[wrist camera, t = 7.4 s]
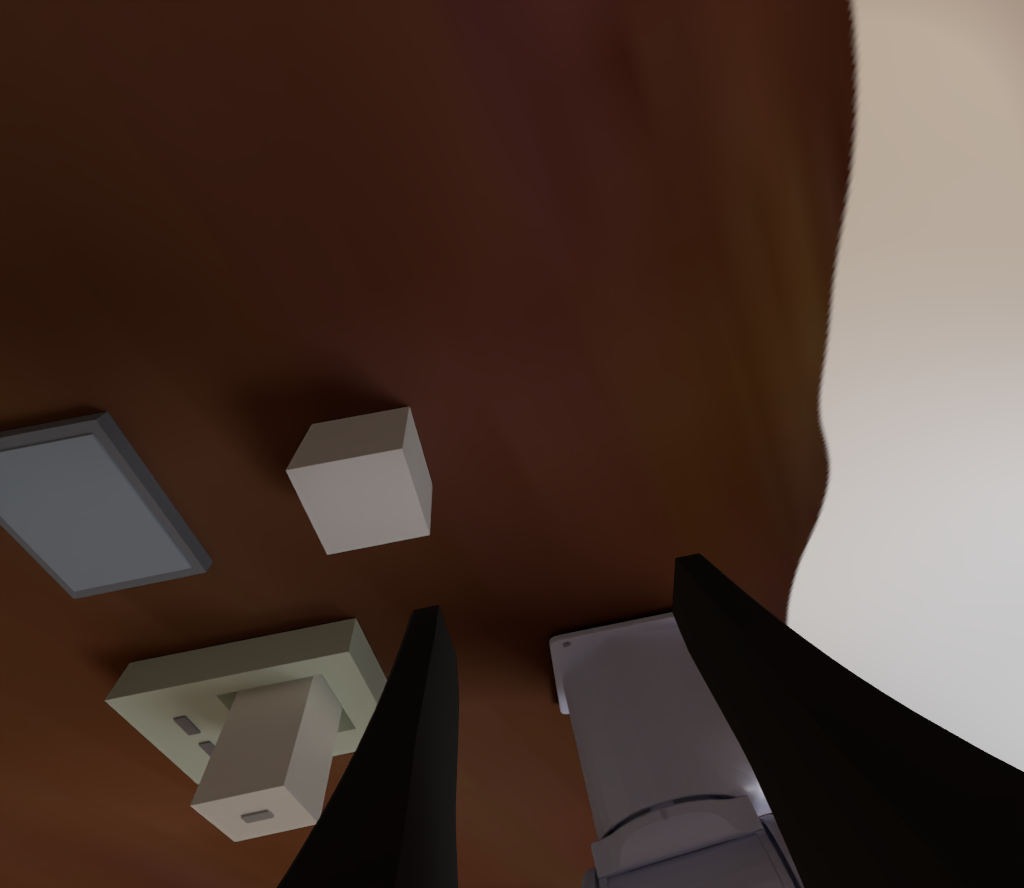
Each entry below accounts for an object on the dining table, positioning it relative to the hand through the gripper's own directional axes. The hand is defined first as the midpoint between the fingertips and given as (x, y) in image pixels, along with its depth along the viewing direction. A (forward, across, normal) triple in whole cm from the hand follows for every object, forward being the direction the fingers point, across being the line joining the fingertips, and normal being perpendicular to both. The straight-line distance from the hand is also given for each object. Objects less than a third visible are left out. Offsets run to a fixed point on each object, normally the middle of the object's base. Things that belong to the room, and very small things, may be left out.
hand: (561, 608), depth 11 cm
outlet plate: (+9, +16, +14) cm, 23 cm away
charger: (+9, +14, +13) cm, 22 cm away
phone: (+10, +18, 0) cm, 21 cm away
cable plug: (+10, +6, 0) cm, 11 cm away
